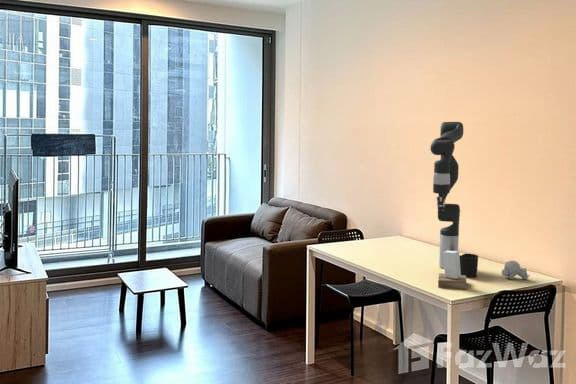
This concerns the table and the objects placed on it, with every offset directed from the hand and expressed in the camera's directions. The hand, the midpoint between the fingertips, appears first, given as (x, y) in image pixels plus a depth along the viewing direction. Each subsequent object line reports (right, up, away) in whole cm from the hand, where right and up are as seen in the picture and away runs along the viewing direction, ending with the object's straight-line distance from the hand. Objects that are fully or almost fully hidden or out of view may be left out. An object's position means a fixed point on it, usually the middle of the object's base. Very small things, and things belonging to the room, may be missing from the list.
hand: (440, 217), depth 249 cm
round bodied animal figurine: (+37, -30, +4) cm, 48 cm away
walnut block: (+4, -31, -5) cm, 32 cm away
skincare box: (+4, -28, -6) cm, 28 cm away
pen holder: (+16, -29, +11) cm, 35 cm away
